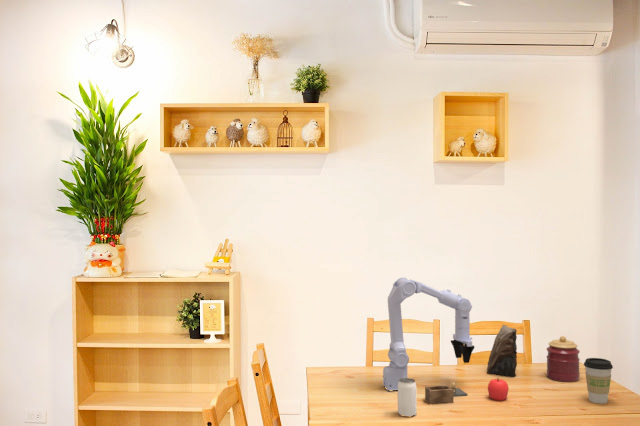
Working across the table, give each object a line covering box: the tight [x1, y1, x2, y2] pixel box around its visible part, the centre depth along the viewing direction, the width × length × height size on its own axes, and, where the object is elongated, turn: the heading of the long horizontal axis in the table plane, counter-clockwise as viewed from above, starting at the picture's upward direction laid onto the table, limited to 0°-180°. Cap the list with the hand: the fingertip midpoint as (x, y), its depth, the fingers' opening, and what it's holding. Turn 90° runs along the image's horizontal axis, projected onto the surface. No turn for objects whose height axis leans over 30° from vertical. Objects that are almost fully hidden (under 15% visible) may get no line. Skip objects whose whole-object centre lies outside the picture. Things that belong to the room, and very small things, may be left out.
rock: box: [486, 324, 518, 378], centre depth 257 cm, size 13×13×20 cm
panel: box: [450, 381, 468, 398], centre depth 231 cm, size 8×8×4 cm
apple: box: [487, 377, 510, 402], centre depth 224 cm, size 8×8×8 cm
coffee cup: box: [583, 357, 614, 405], centre depth 220 cm, size 10×10×15 cm
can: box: [397, 377, 417, 417], centre depth 208 cm, size 6×6×12 cm
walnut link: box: [424, 384, 454, 405], centre depth 222 cm, size 9×6×5 cm, turn 100°
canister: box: [546, 335, 581, 383], centre depth 250 cm, size 13×13×18 cm
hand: (462, 360), depth 242 cm, fingers open, 7 cm apart
